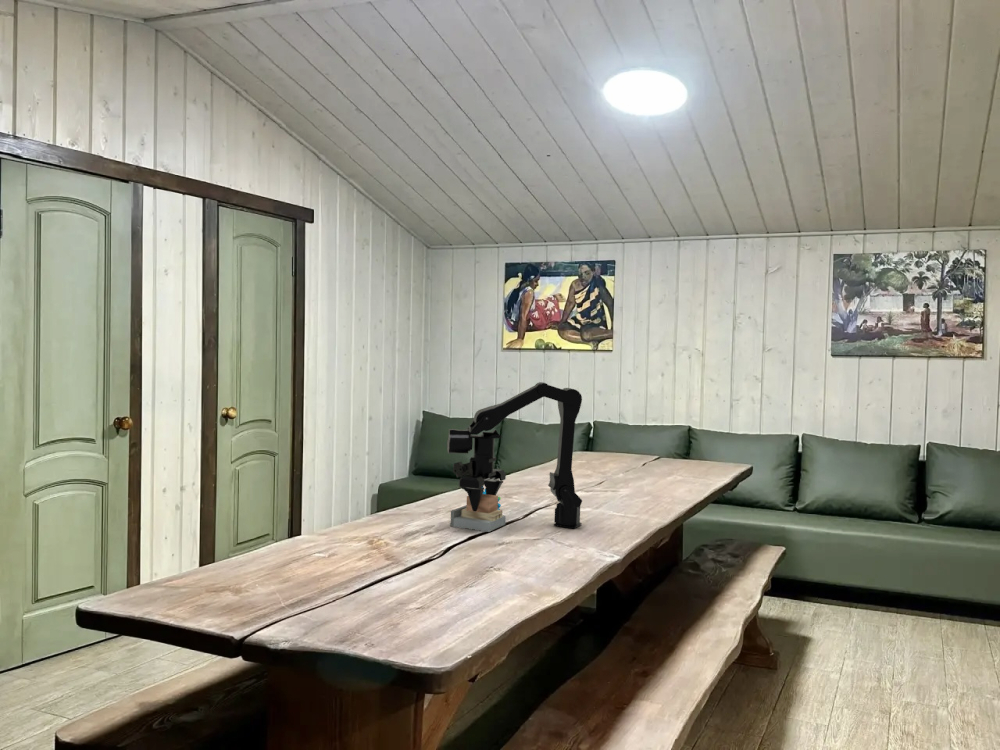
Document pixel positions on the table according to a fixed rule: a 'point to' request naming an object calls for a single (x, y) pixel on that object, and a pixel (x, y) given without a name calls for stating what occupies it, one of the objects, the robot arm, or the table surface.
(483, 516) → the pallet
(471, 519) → the dock
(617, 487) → the table surface
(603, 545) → the table surface
